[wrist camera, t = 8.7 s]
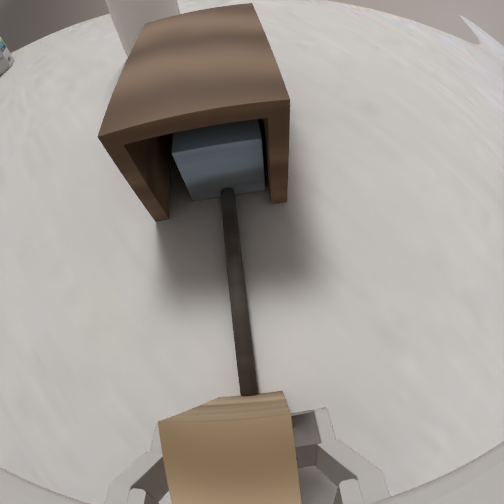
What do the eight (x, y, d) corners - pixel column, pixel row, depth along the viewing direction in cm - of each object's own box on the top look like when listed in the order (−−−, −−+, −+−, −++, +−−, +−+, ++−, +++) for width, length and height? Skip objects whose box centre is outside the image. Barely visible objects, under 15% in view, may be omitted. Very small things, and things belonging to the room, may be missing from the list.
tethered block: (303, 446, 13) (330, 517, 5) (213, 454, 13) (153, 522, 5) (256, 139, 22) (245, 37, 14) (192, 148, 22) (160, 53, 14)
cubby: (286, 201, 19) (289, 99, 12) (155, 221, 20) (97, 136, 12) (258, 78, 25) (251, 3, 17) (168, 93, 26) (145, 23, 18)
